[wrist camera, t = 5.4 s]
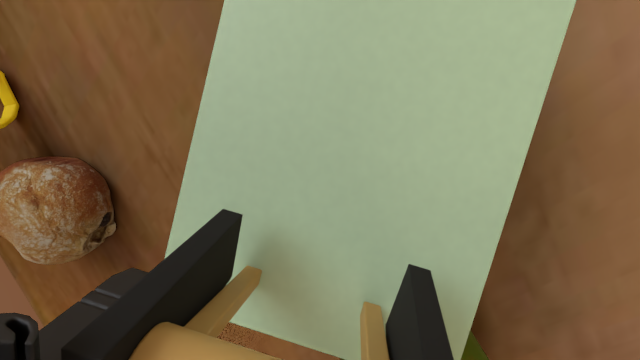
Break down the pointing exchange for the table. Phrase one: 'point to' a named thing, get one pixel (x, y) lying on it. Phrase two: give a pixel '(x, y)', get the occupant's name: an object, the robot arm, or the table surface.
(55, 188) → the bread roll
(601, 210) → the table surface
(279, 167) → the lid
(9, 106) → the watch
